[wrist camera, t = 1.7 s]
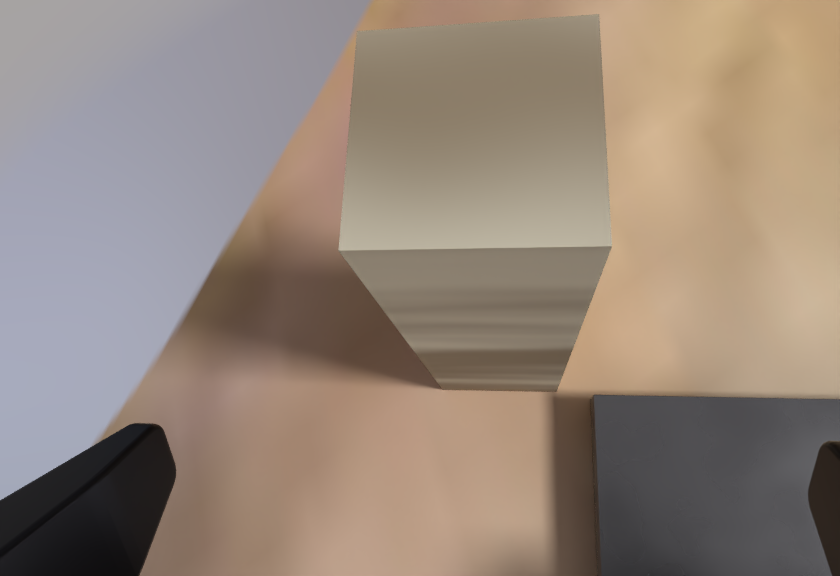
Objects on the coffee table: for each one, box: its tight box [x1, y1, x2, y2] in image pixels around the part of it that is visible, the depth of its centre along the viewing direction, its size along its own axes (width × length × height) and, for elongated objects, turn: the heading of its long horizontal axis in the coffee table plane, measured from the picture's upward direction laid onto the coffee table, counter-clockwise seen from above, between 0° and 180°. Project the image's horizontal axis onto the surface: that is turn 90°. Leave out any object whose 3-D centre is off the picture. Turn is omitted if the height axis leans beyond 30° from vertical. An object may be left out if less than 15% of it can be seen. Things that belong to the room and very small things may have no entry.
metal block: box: [339, 14, 612, 392], centre depth 15 cm, size 4×4×12 cm
